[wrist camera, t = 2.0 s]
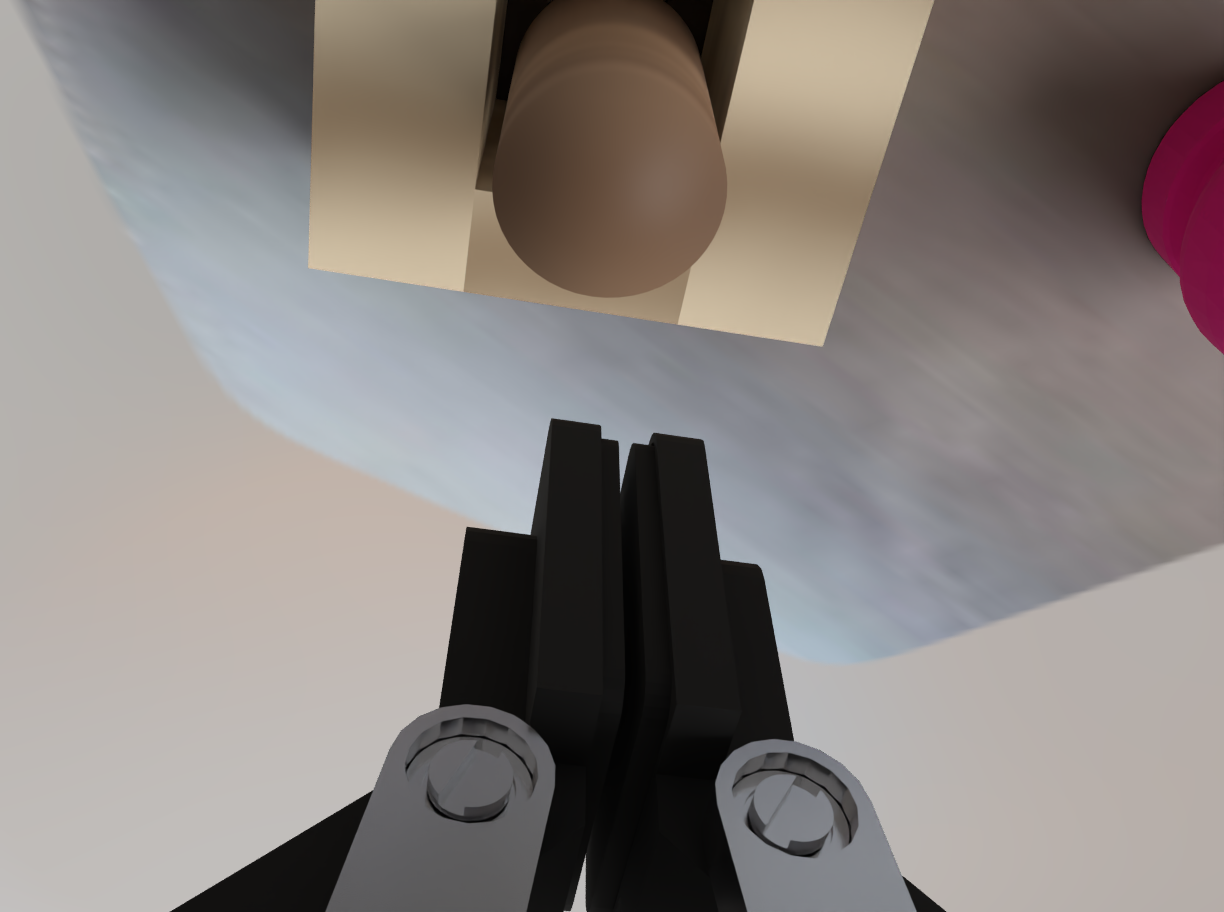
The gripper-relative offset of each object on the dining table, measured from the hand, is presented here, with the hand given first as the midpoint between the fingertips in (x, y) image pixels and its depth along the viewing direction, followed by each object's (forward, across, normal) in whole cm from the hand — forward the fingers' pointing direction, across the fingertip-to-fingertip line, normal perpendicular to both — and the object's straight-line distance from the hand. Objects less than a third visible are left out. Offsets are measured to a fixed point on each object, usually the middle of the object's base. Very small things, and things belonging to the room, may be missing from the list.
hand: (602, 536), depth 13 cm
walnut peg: (+15, 0, -1) cm, 15 cm away
